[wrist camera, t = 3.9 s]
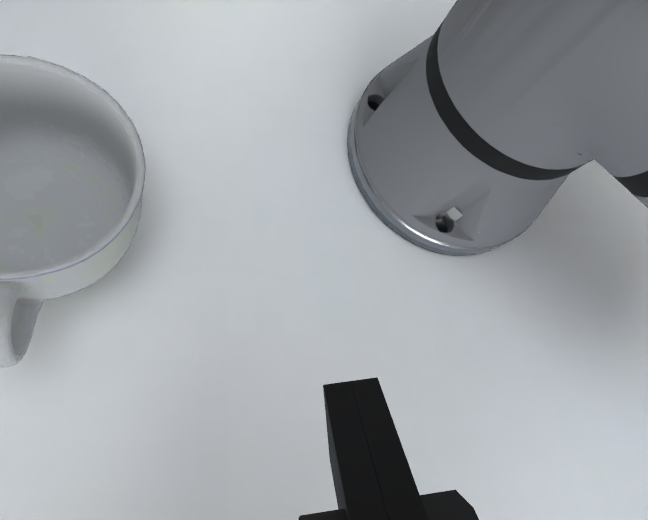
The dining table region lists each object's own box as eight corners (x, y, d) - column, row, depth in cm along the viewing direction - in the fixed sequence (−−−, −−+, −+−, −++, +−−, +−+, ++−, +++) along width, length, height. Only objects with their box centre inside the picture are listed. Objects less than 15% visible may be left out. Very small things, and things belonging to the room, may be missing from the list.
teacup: (-18, 116, 29) (-83, 17, 22) (171, 165, 32) (169, 89, 24) (-121, 353, 25) (-247, 328, 17) (107, 390, 27) (81, 382, 20)
